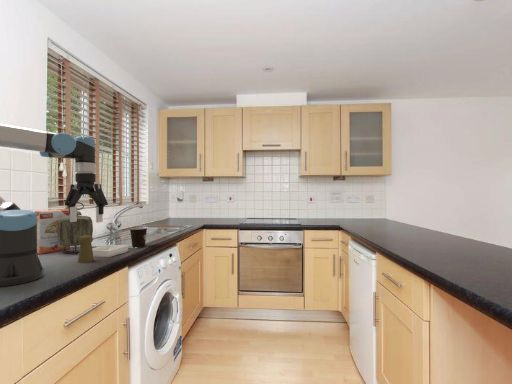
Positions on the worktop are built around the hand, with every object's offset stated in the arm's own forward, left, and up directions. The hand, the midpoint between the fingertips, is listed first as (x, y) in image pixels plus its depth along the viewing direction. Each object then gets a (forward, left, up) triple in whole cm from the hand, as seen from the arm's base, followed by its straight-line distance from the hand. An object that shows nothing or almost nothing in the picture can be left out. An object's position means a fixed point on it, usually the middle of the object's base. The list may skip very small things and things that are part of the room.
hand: (86, 222), depth 121 cm
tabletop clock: (+14, +20, -17) cm, 30 cm away
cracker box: (+13, +33, -17) cm, 39 cm away
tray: (+14, +1, -17) cm, 22 cm away
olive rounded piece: (0, 0, -17) cm, 17 cm away
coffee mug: (+31, -2, -17) cm, 35 cm away
